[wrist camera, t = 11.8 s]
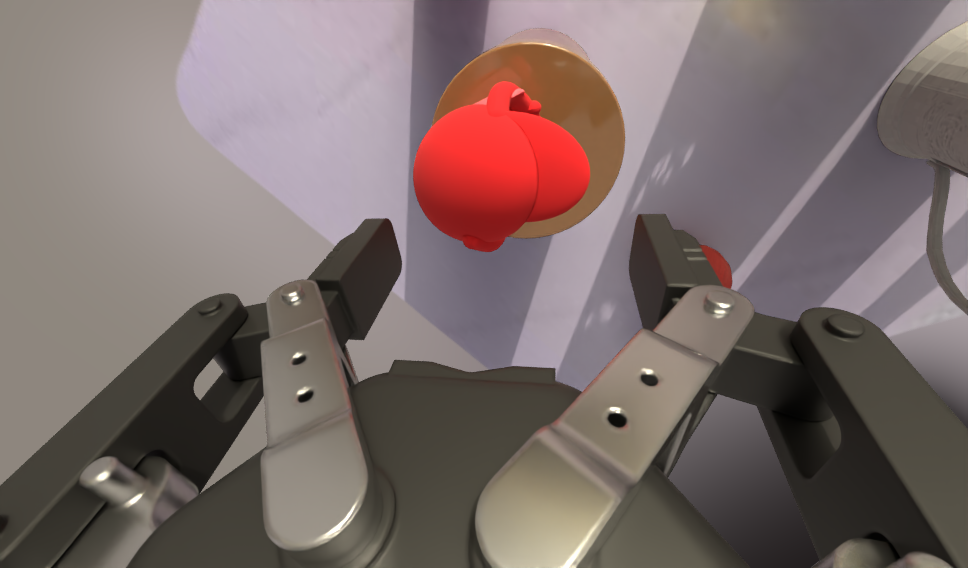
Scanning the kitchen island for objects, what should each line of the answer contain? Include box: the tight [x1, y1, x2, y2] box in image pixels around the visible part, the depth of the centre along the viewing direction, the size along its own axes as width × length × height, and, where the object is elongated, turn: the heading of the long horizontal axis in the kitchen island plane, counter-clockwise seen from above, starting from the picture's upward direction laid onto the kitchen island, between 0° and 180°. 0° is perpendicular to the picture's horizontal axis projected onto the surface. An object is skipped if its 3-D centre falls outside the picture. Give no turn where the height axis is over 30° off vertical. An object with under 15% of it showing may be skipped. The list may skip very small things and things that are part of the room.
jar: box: [432, 28, 625, 239], centre depth 23 cm, size 10×10×13 cm
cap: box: [413, 81, 590, 252], centre depth 16 cm, size 8×6×6 cm
